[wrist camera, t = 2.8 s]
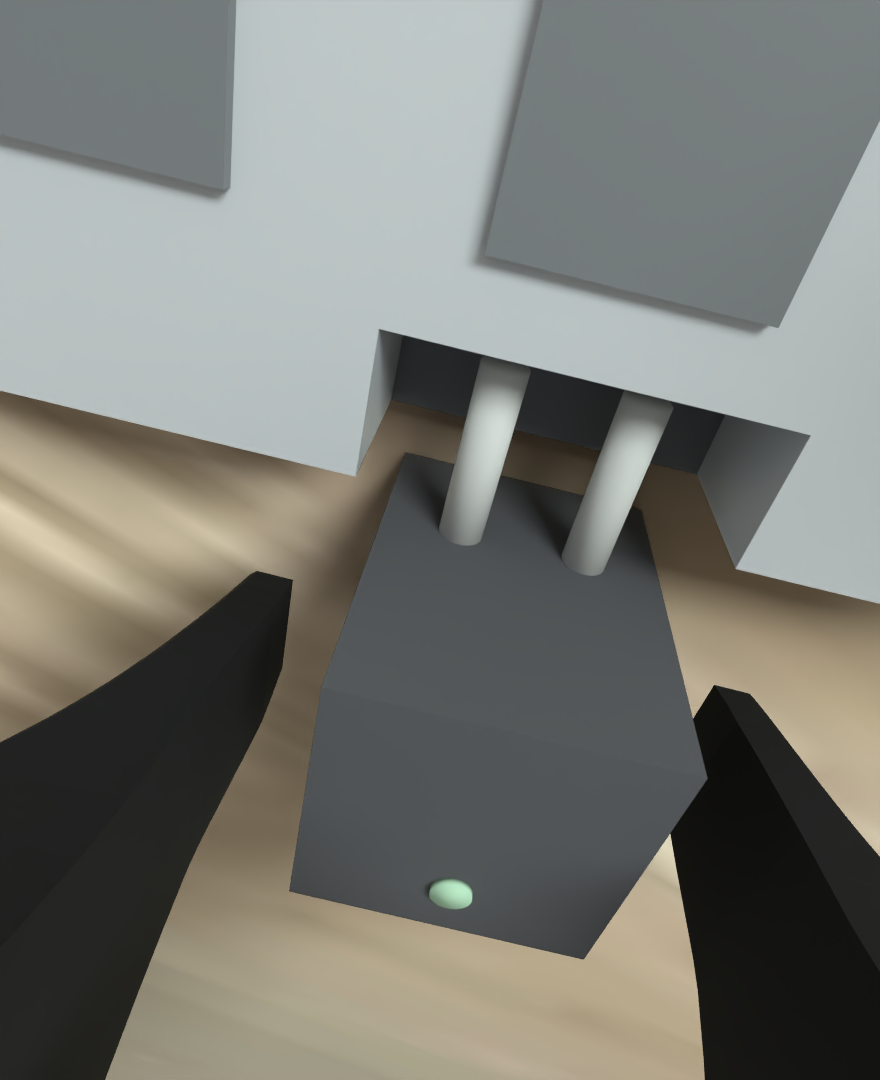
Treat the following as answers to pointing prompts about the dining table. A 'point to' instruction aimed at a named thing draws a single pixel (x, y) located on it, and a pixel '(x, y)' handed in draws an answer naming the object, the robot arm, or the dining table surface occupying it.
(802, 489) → the power strip
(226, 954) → the dining table surface
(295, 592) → the dining table surface
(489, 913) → the charger
